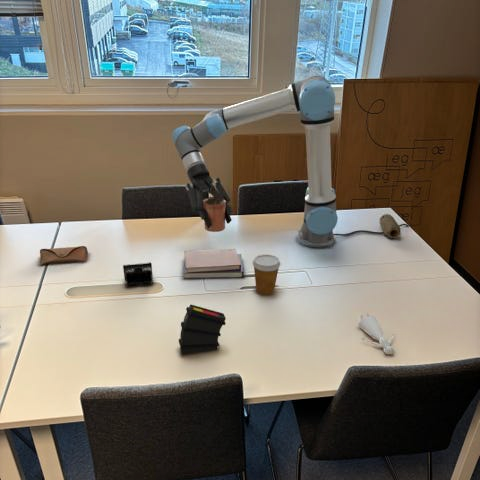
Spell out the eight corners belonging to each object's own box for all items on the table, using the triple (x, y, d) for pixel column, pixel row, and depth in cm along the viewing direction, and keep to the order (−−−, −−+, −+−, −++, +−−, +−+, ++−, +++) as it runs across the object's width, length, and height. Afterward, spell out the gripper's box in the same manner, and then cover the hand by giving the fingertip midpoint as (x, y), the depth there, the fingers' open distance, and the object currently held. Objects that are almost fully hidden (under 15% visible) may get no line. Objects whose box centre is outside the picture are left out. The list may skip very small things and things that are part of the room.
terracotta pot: (225, 223, 188) (225, 197, 182) (226, 232, 181) (226, 204, 176) (203, 223, 187) (203, 197, 182) (204, 232, 181) (203, 205, 175)
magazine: (168, 345, 146) (188, 303, 141) (208, 355, 152) (229, 314, 146) (170, 353, 143) (191, 310, 138) (211, 362, 149) (232, 321, 143)
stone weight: (375, 226, 228) (377, 212, 225) (390, 226, 229) (392, 212, 225) (386, 240, 216) (389, 225, 212) (402, 239, 216) (405, 225, 213)
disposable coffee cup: (278, 284, 181) (280, 254, 175) (278, 298, 174) (280, 267, 167) (252, 283, 182) (253, 253, 176) (250, 296, 174) (251, 265, 168)
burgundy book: (235, 253, 197) (235, 248, 195) (241, 270, 185) (241, 264, 184) (184, 256, 194) (183, 251, 193) (186, 273, 182) (186, 268, 181)
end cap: (152, 275, 186) (150, 259, 182) (154, 285, 180) (152, 268, 176) (124, 278, 184) (122, 262, 180) (125, 288, 178) (123, 271, 174)
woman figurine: (382, 309, 160) (411, 344, 146) (379, 320, 162) (407, 356, 148) (348, 313, 157) (374, 349, 143) (346, 324, 160) (371, 361, 146)
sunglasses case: (38, 265, 190) (36, 247, 190) (41, 266, 197) (39, 249, 197) (87, 261, 194) (85, 243, 194) (89, 262, 201) (87, 246, 200)
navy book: (241, 259, 198) (241, 253, 196) (243, 278, 185) (243, 271, 184) (184, 260, 197) (184, 254, 195) (183, 279, 184) (183, 272, 183)
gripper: (216, 169, 191) (239, 223, 189) (167, 177, 181) (191, 234, 179) (223, 158, 184) (247, 214, 182) (173, 166, 175) (198, 225, 172)
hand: (219, 224), depth 181 cm, fingers closed on terracotta pot, 8 cm apart
